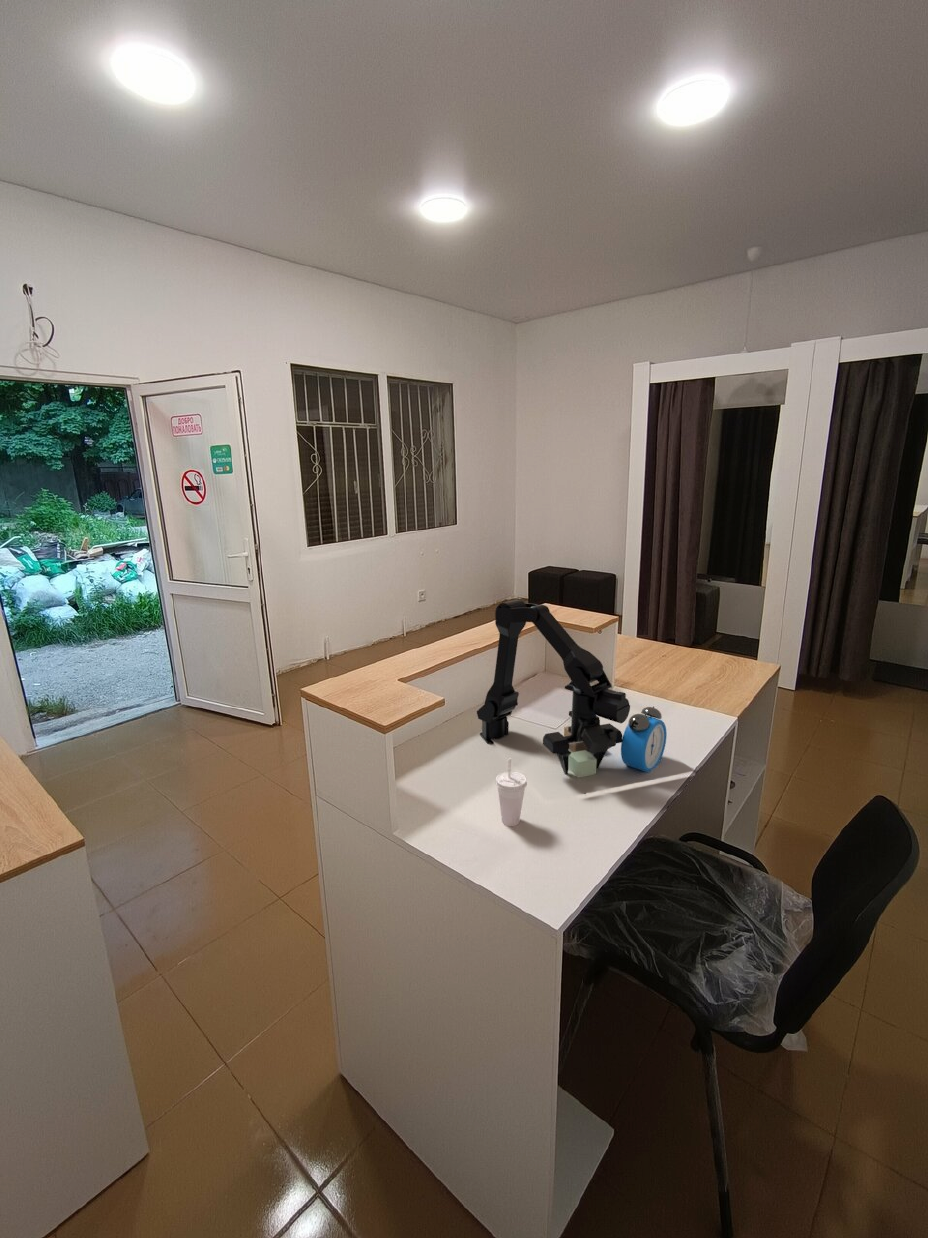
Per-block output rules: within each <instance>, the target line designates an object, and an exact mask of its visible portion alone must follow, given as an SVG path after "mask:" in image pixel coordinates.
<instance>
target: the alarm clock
mask: <svg viewBox="0 0 928 1238" xmlns="http://www.w3.org/2000/svg"><path fill="white" fill-rule="evenodd" d="M662 717H663V716H662V713H661V711H660V710H659V709H658V708H656V707H655V706H646V707H643V709H642V710H641V712H640V713H636V714H633V715H632V716H630V717H629V719H628V722H627V723H628V724H627V725H626V727H625V730H624V732H623V734H622V742H621V743H620V744H621V745H620V756H621V760H622V763H623V764H624V765H625V766H628V767H630V768H633V769H637V770H639V771H641V772H644V773H649V772H651V771H652V770H654V769H655V768H656V767H657V766H658V765H659V764H660V762H661V760H662V757H663V755H664V752H665V750H666V749H665V748H666V744H667V727H666V724H665V722H664V721H663V720H662Z"/></svg>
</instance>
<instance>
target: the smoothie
mask: <svg viewBox="0 0 928 1238" xmlns="http://www.w3.org/2000/svg"><path fill="white" fill-rule="evenodd" d="M507 763H508V764H507V771H505V772H501V773H499V774H498V775H496V777H495V784H496V786H497V794H498V801H499V808H500V816H501V823H502V824H503V825H504V826H508V827H515V826H517V825H518V824H519V823H520V820H521V816H522V815H521V813H522V808H523V803H524V795H525V789H526V788H527V785H528V782H527V779H528V778H526V776H525V775H524V774H522V773H520V772H517V771H516V772H515V771H511V770H512V769H511V766H512V758H511V757H508V758H507Z"/></svg>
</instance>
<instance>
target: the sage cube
mask: <svg viewBox="0 0 928 1238" xmlns="http://www.w3.org/2000/svg"><path fill="white" fill-rule="evenodd" d="M596 763H597V759H596V758H595V757H593V756H592V755H591V754H590V753H589V752H587V751H586V750H583V751H577V752H572V753H571V754H570V755H569V760H568V771H570V772H571V773H572V774H573V775H574V776H575V777H576V778H583V777H588V776H593V775H597V769H596Z"/></svg>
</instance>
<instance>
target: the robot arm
mask: <svg viewBox="0 0 928 1238" xmlns="http://www.w3.org/2000/svg"><path fill="white" fill-rule="evenodd" d="M494 612H495V613H494V615H495V616H494V617H495V618H494V619H495V622H494V623H495V626H496V628H497V631H498V634H499V635H498V636H499V637H498V647H497V652H496V661H495V667H494V668H495V669H494V679H493V683H492V685H491V686H490V688H489V690H488V691H487V693H486V696H485V699H484V704H483V705H482V706H481V707H480V708H478V710H477V711H476V715H477V719H478V720H481V732H480V733H479V735H480V737H481V738H482V739H483V740H484V741H485V742H486V743H487V744H488V745H489V744H495V742H494V741H493V740H500V739H502V738H504V737H505V736H509V731H510V730H509V728H510V727H509V726H510V725H509V721H508V717H509V716H511V715H512V712H513V710H515V709H516V706H518V705H519V703H518V698H519V695H520V692H519V691H517V690H515V688H514V686H513V679H514V671H515V667H516V666H515V665H516V658H517V649H518V643H519V636H520V635H521V633H522V631H523V629H524V628H525V626H526V625H527V623H532V624H533V625H534V626H535V627H536V629H537V631H539V633H540V634H541V635H542V636H543V637H544V639H545V640H546V641H547V642H548V644H549V645H550V646H551V647H552V648H553V649H554V651H555V652H556V653H557V655H558V656H559V657H560V658H561V660H562V662H563V667H564V668H563V669H564V671H565V673H566V674H567V676H568V677H569V679H570V682H569V683H568V684H567V685H565V686H564V689H565V690H568V691H569V692H572V703H571V710H569V711H568V716H569V717H571V723H570V724H571V725H570V726H571V727H568V726H567V727H568V731H569V732H570V733H571V735H570V736H564V734H562V733H560V732H559V731H555V732H549V733H548V732H547V733H545V734H544V735H543V737H542V746H544V747H545V748H546V749H547V750H548V751H550V752H551V753H552V754H553V755H554V754H555V755H557V758H558V760H559V763H560V766H561V768H562V770H563V773H564V774H565V775H568V773H569V769H568V760H569V755H570V754H571V752H570V751H569V750H568V749H569V744H574V743H580V742H584V744H585V745H586V747H587V748H588V751H589V752H590V753H593V754H594V757H595V758H596V759H597V763H596V770H597V769H599V767H600V765H601V763H602V761H603V758H604V757H605V756H606V755H605V753H606V751H609V749H611V748H612V747H616V745H617V744H621V743H622V738H623V733H622V731H621V730H620V729H619V728H617V727H615V726H614V725H613V724H612V723H603V724H601V719H600V718H603V719H606V720H608V721H612V722H615V723H618V724H623V723H624V722H625V721H627V719H628V717H629V714H630V710H631V704H630V701H629V699H628V698H626V696H627V694H626V692H623V691H618V690H617V691H616V690H614V689H612V684H611V682H610V679H609V677H608V676H607V674H606V672H605V670H604V666H603V663H602V662H601V661H600V659H598V658H597V656H596V655H594V654H593V653H591V652H590V651H589V650H587V649H585V648H583V647H581V646H580V645H578V644H577V643H576V641H575V640H574V639H573V638H572V636H571V635H570V634H569V633H568V632H567V630H566V629H564V627H563V626H562V625H561V624H560V621H558V620H557V619H556V618H555V616H554V615H553V614H552V612H551V611H550V609H549V607H548V606H547V605H546V604H537V603H530V602H528V603H525V602H524V601H523V600H521V599H515V600H511V601H506V602H502V603H499V604H498V605H497V606H496V607H495V611H494ZM594 682H598V683H594ZM591 683H594V684H593V685H591Z"/></svg>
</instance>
